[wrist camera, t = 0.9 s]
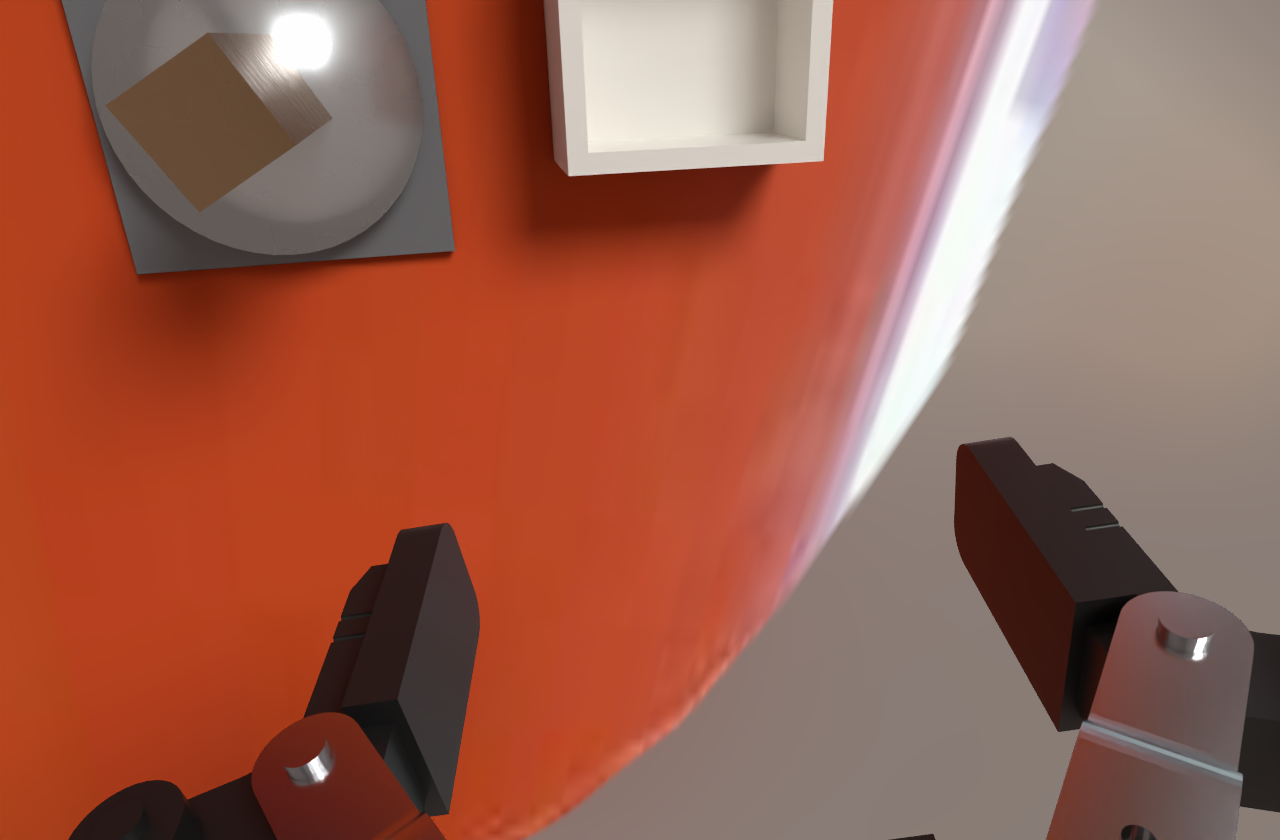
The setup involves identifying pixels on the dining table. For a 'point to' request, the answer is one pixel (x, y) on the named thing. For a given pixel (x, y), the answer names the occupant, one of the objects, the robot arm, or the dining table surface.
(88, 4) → the mat
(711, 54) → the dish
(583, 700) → the dining table surface
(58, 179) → the dining table surface
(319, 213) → the lid
